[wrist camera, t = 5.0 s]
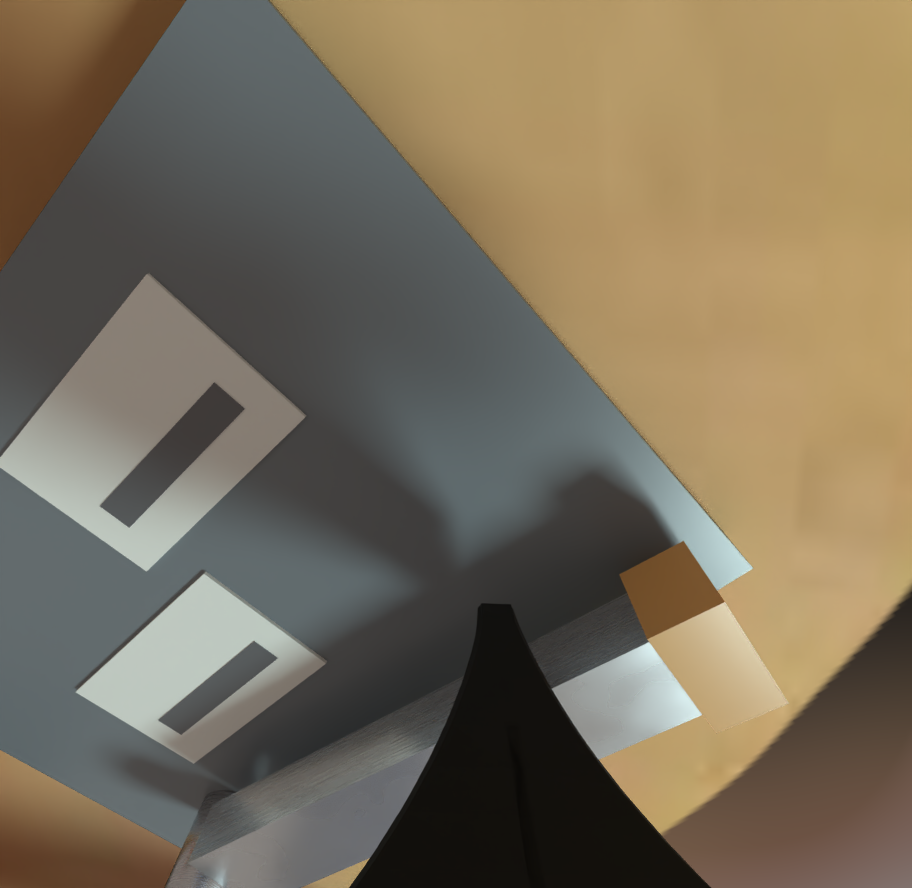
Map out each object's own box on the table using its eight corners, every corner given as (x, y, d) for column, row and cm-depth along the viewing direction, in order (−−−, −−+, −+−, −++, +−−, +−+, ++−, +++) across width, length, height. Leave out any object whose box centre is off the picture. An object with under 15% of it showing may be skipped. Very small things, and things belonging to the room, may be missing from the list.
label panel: (259, 836, 20) (206, 1000, 16) (-176, 583, 15) (-412, 720, 11) (724, 533, 14) (831, 664, 10) (256, -14, 10) (101, -185, 5)
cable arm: (283, 844, 16) (260, 924, 14) (207, 788, 15) (172, 867, 13) (741, 632, 13) (788, 703, 11) (683, 540, 12) (725, 602, 10)
